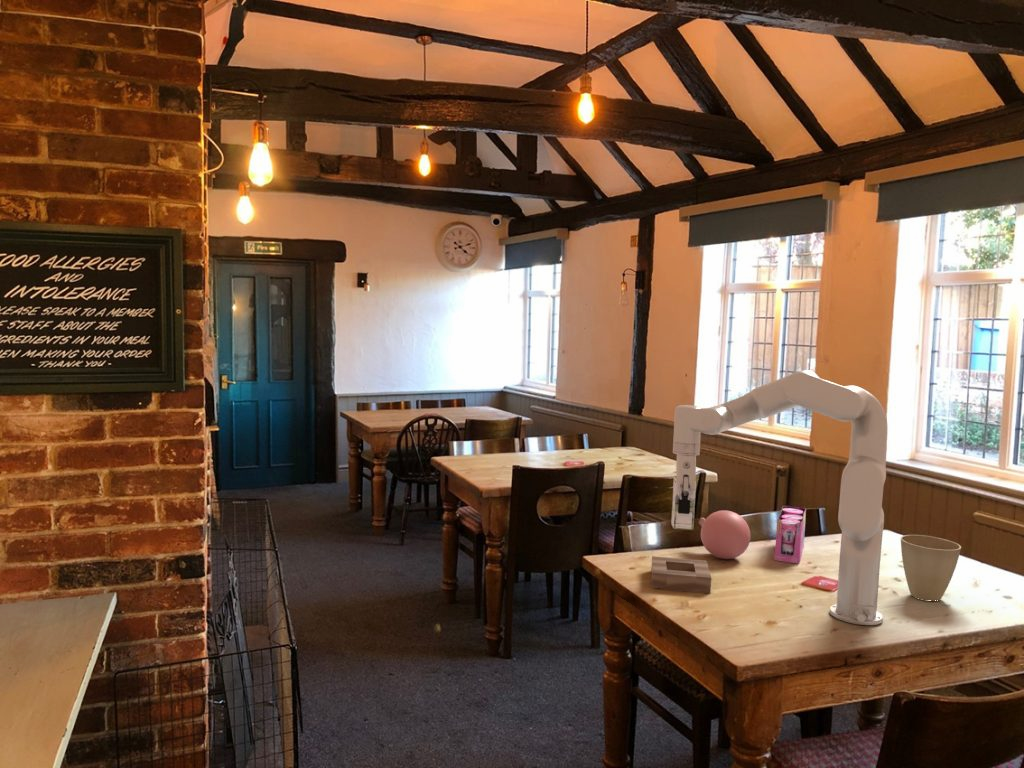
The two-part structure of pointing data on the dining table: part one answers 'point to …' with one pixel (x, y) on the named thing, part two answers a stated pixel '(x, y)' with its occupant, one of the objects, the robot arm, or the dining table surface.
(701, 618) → the dining table surface
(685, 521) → the syrup box
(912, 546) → the plant pot
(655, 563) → the walnut stand
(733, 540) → the balloon
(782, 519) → the gum box
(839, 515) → the robot arm
